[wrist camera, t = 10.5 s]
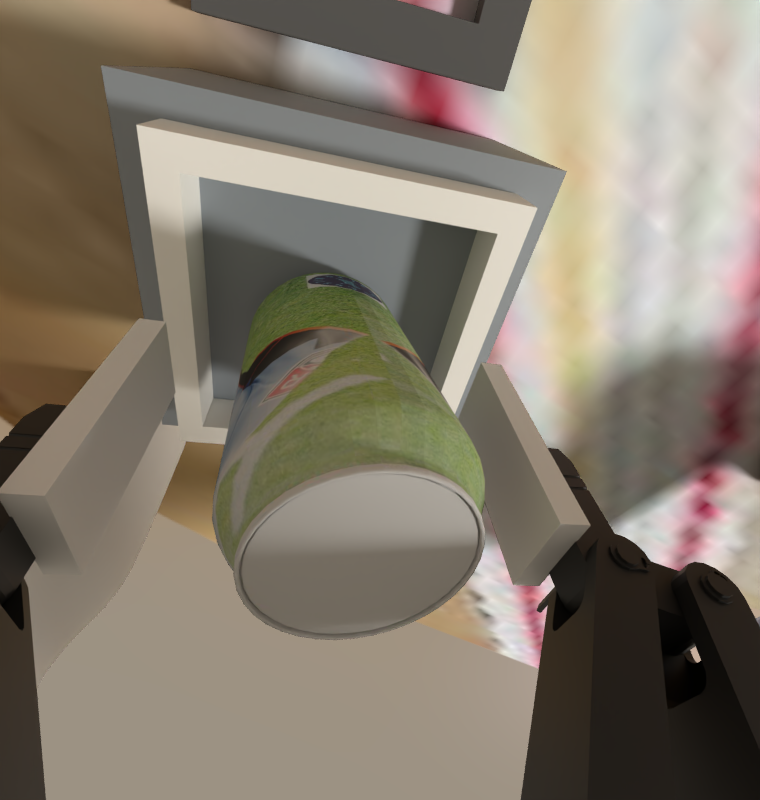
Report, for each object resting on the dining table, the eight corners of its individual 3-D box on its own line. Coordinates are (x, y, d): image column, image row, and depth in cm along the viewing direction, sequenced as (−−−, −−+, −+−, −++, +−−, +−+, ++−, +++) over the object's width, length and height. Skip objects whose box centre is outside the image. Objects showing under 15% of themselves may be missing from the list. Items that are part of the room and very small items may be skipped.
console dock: (492, 139, 22) (594, 183, 13) (423, 361, 30) (458, 476, 21) (189, 68, 19) (64, 63, 10) (208, 334, 27) (147, 453, 19)
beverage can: (234, 359, 18) (128, 662, 9) (300, 201, 14) (238, 433, 5) (359, 406, 20) (382, 686, 11) (444, 281, 17) (585, 542, 7)
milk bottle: (190, 383, 30) (24, 728, 14) (193, 456, 34) (71, 779, 19) (69, 366, 28) (-270, 736, 12) (90, 446, 32) (-139, 789, 17)
